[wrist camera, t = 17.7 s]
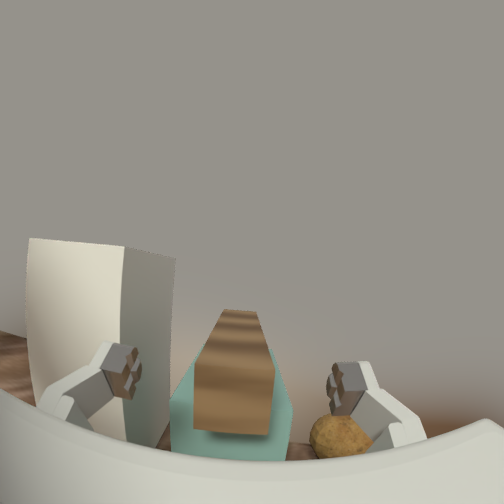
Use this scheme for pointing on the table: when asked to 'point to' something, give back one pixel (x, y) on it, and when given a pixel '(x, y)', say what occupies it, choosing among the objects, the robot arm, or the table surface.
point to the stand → (102, 325)
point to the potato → (338, 437)
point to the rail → (234, 377)
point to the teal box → (229, 443)
